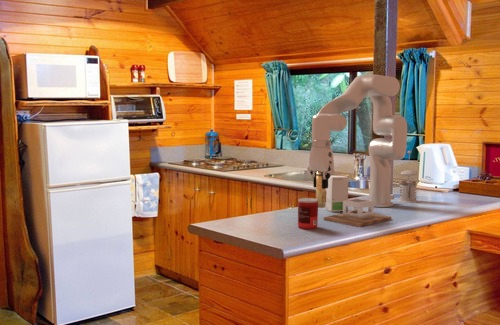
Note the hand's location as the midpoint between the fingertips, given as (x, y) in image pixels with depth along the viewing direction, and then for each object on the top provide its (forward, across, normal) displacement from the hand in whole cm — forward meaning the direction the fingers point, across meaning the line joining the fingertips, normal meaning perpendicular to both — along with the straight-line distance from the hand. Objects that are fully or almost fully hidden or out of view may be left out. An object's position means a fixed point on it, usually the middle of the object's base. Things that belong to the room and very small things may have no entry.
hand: (320, 187), depth 253 cm
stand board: (+13, -14, -7) cm, 20 cm away
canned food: (+12, -10, +20) cm, 25 cm away
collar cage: (+12, -14, -7) cm, 20 cm away
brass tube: (+8, 0, 0) cm, 8 cm away
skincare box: (+13, +5, -17) cm, 22 cm away
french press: (+14, -3, -63) cm, 65 cm away
